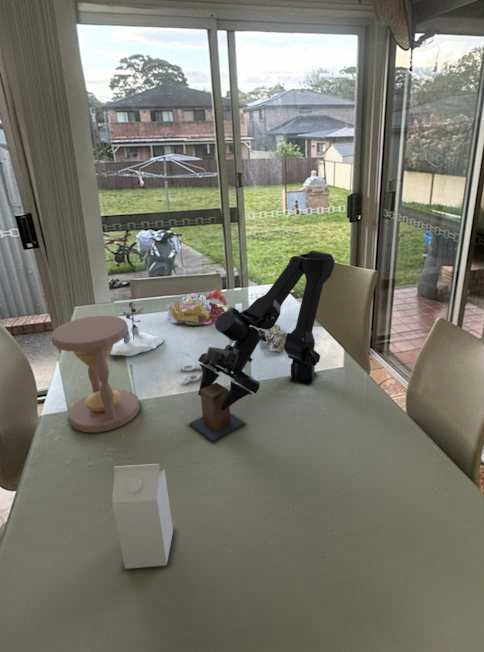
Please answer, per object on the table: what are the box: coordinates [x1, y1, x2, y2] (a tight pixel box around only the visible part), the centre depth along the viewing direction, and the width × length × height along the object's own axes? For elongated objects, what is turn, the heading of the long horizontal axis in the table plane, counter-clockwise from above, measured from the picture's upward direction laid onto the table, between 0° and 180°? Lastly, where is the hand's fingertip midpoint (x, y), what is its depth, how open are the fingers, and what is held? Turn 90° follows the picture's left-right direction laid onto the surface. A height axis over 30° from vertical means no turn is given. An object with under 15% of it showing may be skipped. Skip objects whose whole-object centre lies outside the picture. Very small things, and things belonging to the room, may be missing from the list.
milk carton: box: [111, 463, 174, 569], centre depth 76 cm, size 7×7×19 cm
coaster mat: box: [189, 413, 245, 443], centre depth 113 cm, size 10×10×1 cm
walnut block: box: [200, 382, 231, 431], centre depth 111 cm, size 5×5×10 cm
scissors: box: [181, 364, 202, 385], centre depth 140 cm, size 11×1×20 cm
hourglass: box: [51, 315, 141, 434], centre depth 114 cm, size 18×18×25 cm
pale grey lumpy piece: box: [259, 324, 288, 354], centre depth 161 cm, size 25×10×5 cm
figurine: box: [110, 301, 164, 357], centre depth 154 cm, size 20×18×16 cm
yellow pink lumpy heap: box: [167, 289, 229, 326], centre depth 182 cm, size 25×24×9 cm
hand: (210, 402), depth 110 cm, fingers open, 9 cm apart
